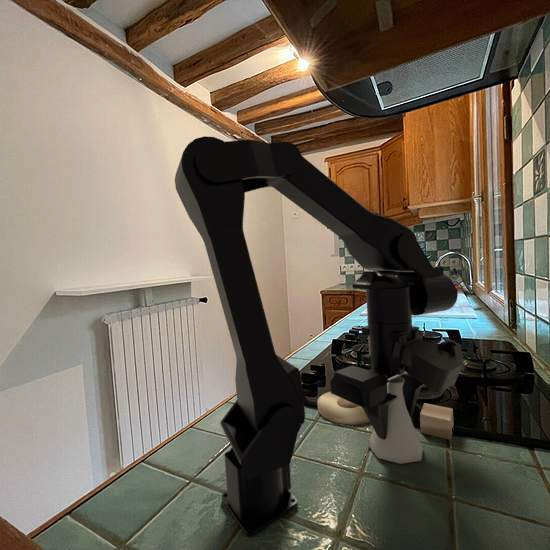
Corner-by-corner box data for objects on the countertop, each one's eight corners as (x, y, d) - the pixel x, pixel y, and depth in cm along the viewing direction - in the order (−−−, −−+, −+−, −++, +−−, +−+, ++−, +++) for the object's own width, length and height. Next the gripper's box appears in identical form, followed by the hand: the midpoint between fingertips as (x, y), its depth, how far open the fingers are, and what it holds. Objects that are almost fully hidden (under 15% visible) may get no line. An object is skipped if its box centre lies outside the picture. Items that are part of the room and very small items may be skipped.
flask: (431, 468, 38) (427, 390, 38) (371, 463, 39) (367, 388, 39) (416, 435, 45) (413, 369, 45) (365, 432, 46) (362, 368, 46)
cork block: (451, 441, 43) (450, 420, 43) (420, 433, 46) (419, 414, 46) (453, 427, 47) (452, 408, 47) (425, 421, 49) (424, 403, 49)
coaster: (351, 432, 47) (351, 425, 47) (305, 407, 56) (304, 401, 56) (393, 409, 53) (393, 403, 53) (345, 389, 62) (345, 384, 62)
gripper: (404, 345, 29) (411, 499, 30) (484, 316, 40) (488, 430, 41) (324, 328, 39) (330, 447, 39) (406, 308, 49) (410, 401, 50)
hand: (394, 430), depth 42 cm, fingers closed on flask, 5 cm apart
